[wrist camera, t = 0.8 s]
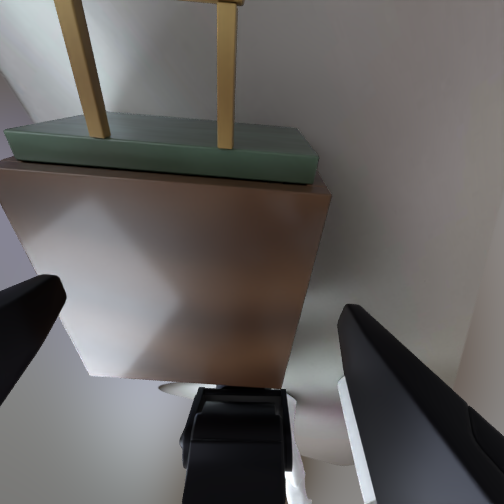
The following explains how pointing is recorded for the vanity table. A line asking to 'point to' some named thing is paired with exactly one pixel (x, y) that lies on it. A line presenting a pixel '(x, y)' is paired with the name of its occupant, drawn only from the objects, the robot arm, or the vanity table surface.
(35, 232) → the cabinet
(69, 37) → the drawer
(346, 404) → the mug
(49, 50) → the vanity table surface
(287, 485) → the figurine
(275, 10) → the vanity table surface
